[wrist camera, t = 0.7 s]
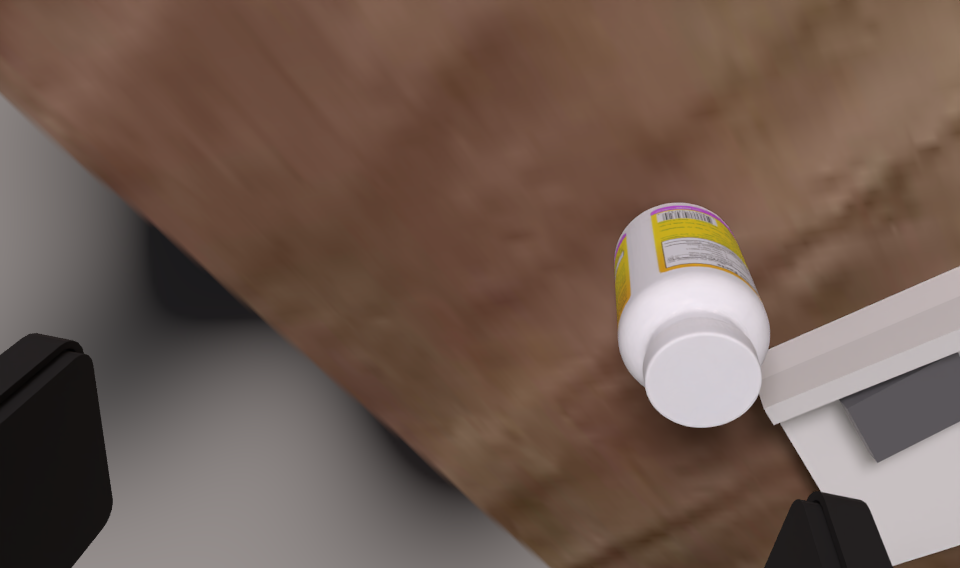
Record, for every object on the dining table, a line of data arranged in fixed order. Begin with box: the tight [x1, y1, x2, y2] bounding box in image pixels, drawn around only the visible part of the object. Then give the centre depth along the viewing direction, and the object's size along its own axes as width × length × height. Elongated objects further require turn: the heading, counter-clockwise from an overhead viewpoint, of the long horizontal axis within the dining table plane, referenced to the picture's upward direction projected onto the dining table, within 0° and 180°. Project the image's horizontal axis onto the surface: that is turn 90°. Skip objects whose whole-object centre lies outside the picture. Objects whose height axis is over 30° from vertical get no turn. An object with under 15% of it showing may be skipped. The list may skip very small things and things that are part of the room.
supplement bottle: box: [614, 203, 770, 428], centre depth 37 cm, size 7×7×13 cm
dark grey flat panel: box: [839, 352, 960, 463], centre depth 40 cm, size 6×4×1 cm, turn 124°
